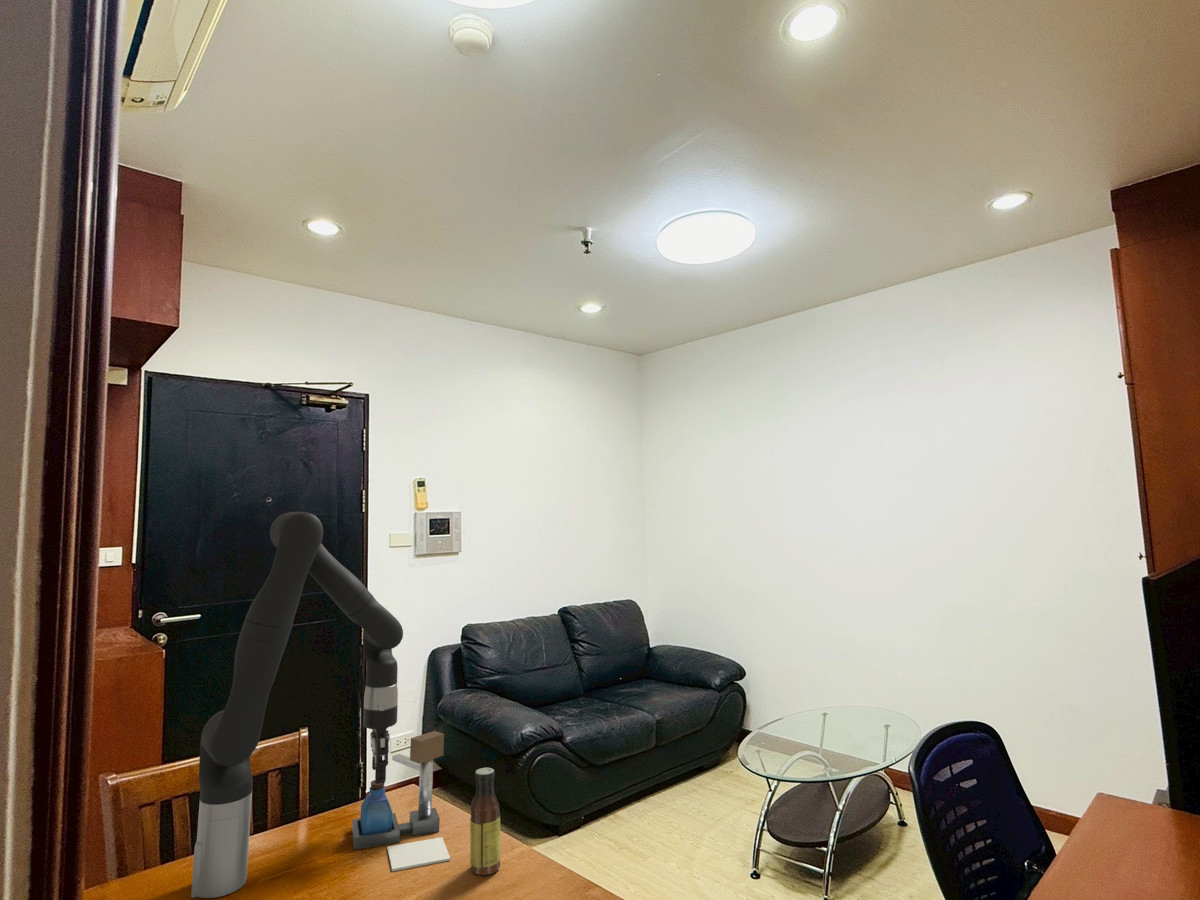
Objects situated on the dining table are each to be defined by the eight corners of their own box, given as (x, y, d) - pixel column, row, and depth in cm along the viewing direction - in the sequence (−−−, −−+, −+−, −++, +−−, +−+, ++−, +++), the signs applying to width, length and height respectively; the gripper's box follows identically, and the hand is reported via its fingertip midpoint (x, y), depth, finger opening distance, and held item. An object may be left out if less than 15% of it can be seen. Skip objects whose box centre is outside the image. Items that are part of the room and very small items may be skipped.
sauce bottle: (503, 862, 142) (505, 765, 144) (495, 878, 135) (498, 777, 137) (473, 860, 142) (476, 764, 144) (464, 876, 136) (468, 775, 138)
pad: (392, 871, 137) (392, 869, 137) (387, 849, 146) (387, 846, 147) (450, 860, 142) (450, 858, 142) (442, 839, 151) (442, 837, 151)
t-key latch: (381, 804, 161) (385, 729, 163) (405, 795, 167) (408, 722, 168) (417, 821, 153) (420, 741, 155) (441, 810, 158) (444, 733, 160)
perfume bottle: (359, 833, 154) (362, 779, 155) (387, 828, 156) (389, 775, 157) (362, 845, 148) (365, 789, 149) (391, 840, 151) (393, 785, 152)
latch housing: (354, 850, 146) (354, 835, 146) (351, 830, 155) (352, 817, 155) (440, 835, 153) (440, 821, 153) (433, 817, 162) (434, 804, 162)
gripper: (362, 697, 160) (359, 767, 159) (366, 714, 147) (363, 790, 146) (394, 694, 163) (392, 762, 162) (401, 710, 150) (398, 785, 148)
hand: (378, 775), depth 154 cm, fingers open, 8 cm apart
